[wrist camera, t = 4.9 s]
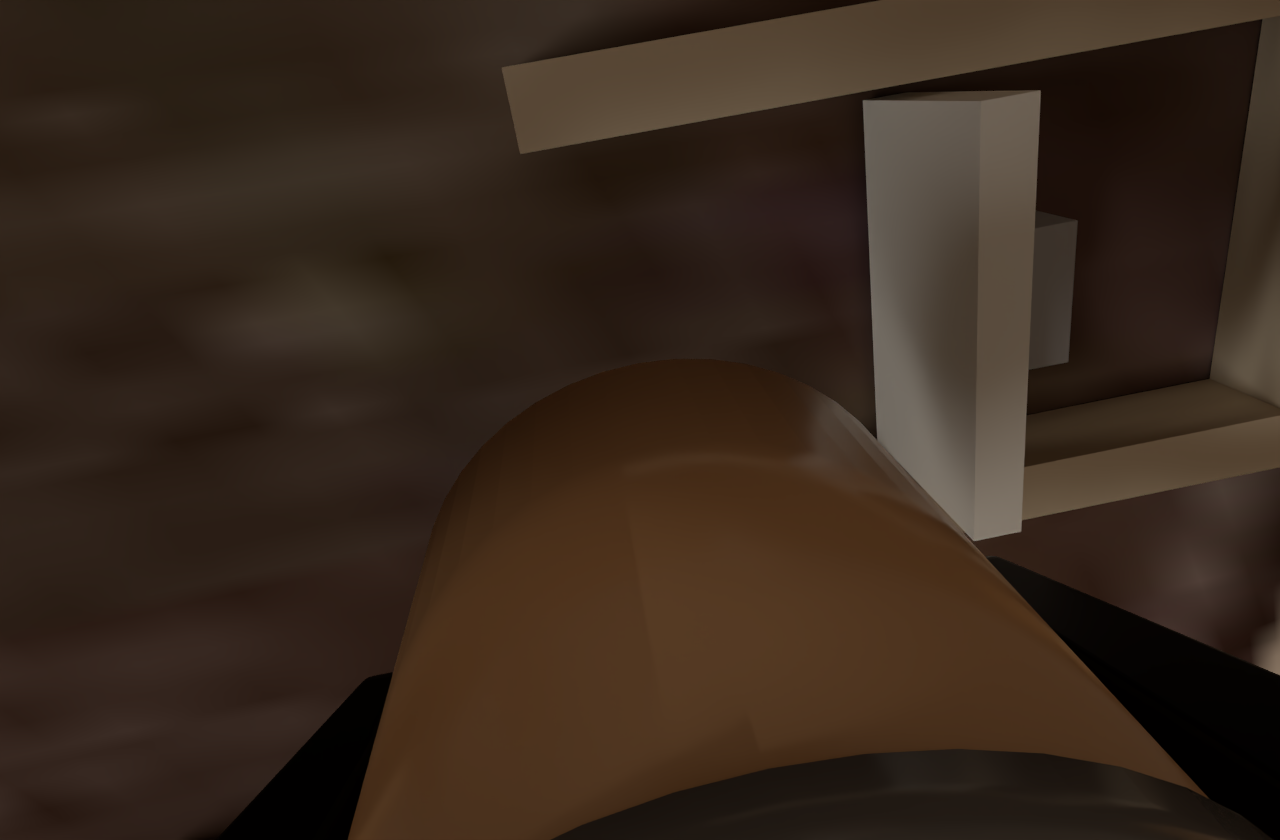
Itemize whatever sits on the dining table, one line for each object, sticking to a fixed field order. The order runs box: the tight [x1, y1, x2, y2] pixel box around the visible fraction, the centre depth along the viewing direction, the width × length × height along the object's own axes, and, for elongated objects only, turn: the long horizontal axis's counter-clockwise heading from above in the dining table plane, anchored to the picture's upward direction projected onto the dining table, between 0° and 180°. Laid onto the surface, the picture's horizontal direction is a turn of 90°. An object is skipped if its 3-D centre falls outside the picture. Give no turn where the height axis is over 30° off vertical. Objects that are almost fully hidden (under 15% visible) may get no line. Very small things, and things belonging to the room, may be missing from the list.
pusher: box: [863, 90, 1078, 541], centre depth 16 cm, size 8×3×5 cm, turn 9°
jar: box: [348, 359, 1273, 840], centre depth 7 cm, size 6×6×6 cm
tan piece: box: [502, 0, 1280, 532], centre depth 18 cm, size 12×18×2 cm
